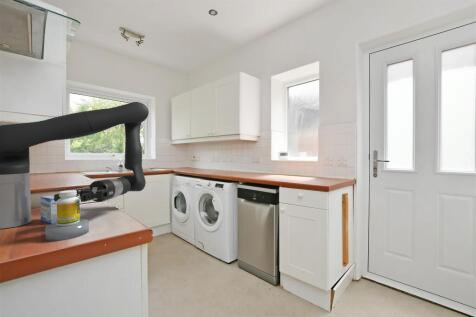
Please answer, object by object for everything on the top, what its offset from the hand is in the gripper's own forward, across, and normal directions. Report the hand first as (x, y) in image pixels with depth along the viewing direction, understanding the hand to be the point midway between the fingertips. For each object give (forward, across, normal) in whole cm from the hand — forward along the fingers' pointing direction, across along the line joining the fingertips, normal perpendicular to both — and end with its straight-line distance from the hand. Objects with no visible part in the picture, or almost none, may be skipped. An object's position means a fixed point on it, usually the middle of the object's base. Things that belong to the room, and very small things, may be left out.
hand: (68, 198), depth 65 cm
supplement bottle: (0, 0, +8) cm, 8 cm away
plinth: (0, 0, +10) cm, 11 cm away
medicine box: (-12, -17, +11) cm, 23 cm away
